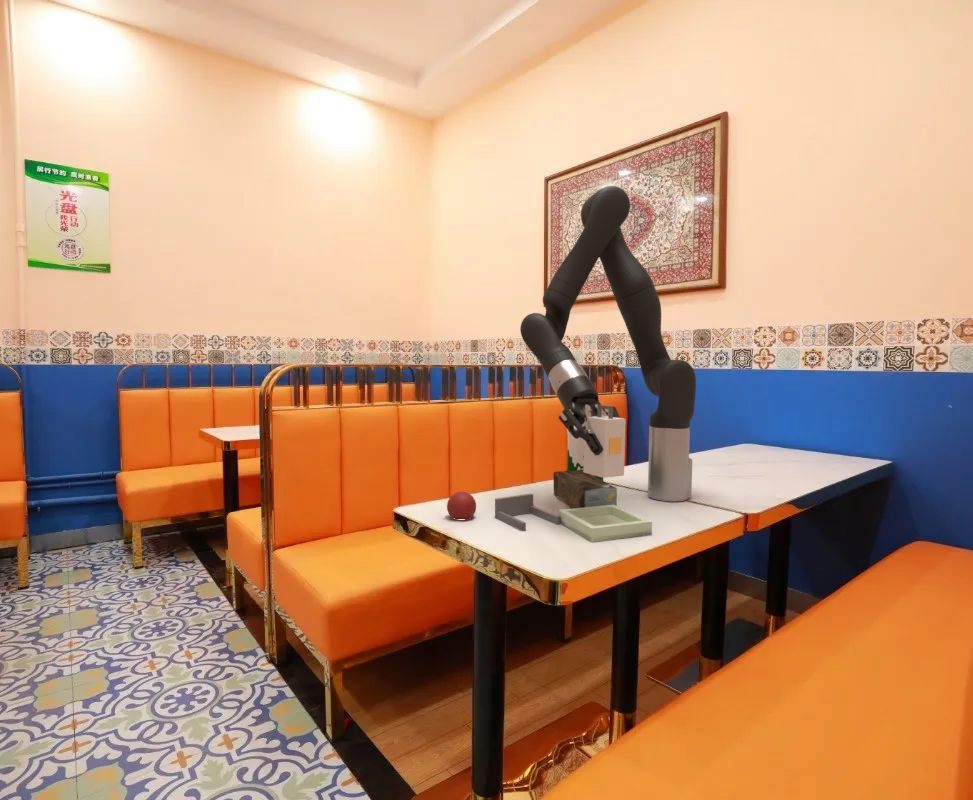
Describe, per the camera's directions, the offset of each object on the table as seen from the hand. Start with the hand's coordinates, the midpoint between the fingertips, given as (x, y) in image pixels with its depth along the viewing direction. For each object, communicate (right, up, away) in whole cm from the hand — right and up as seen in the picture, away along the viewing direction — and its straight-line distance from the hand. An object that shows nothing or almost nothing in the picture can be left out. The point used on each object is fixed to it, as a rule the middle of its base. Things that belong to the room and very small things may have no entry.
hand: (610, 451), depth 102 cm
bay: (-15, -15, +7) cm, 22 cm away
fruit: (-28, -15, +9) cm, 33 cm away
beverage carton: (-1, -15, +21) cm, 26 cm away
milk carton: (+2, -13, +37) cm, 39 cm away
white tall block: (-1, -5, +2) cm, 5 cm away
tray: (-1, -15, +3) cm, 16 cm away
